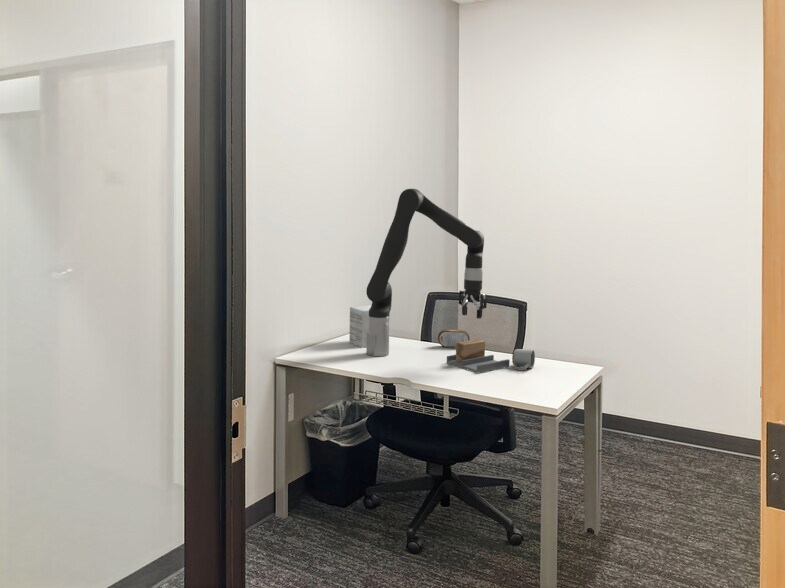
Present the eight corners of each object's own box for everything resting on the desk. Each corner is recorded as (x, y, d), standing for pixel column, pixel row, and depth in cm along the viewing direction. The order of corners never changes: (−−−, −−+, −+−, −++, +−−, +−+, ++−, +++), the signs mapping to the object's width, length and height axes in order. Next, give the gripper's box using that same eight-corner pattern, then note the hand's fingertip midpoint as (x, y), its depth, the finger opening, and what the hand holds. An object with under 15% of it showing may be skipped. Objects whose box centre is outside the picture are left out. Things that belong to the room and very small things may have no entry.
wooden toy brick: (484, 359, 263) (485, 341, 262) (463, 363, 256) (464, 344, 255) (476, 357, 267) (476, 339, 266) (455, 360, 260) (456, 342, 259)
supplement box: (372, 339, 303) (372, 304, 301) (386, 345, 292) (387, 308, 290) (348, 342, 296) (349, 306, 294) (362, 348, 285) (362, 310, 283)
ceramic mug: (515, 363, 262) (516, 345, 261) (534, 365, 258) (535, 348, 257) (509, 369, 252) (509, 351, 251) (528, 372, 249) (529, 353, 248)
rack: (478, 373, 245) (478, 365, 245) (446, 363, 260) (446, 356, 260) (509, 366, 256) (509, 359, 256) (476, 357, 271) (477, 350, 271)
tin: (469, 347, 291) (470, 329, 290) (469, 348, 288) (470, 331, 287) (437, 345, 293) (438, 328, 291) (437, 347, 290) (437, 329, 288)
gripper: (455, 277, 260) (453, 315, 262) (479, 280, 249) (477, 320, 251) (467, 276, 265) (466, 313, 267) (492, 279, 253) (490, 318, 256)
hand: (471, 316), depth 259 cm, fingers open, 8 cm apart
